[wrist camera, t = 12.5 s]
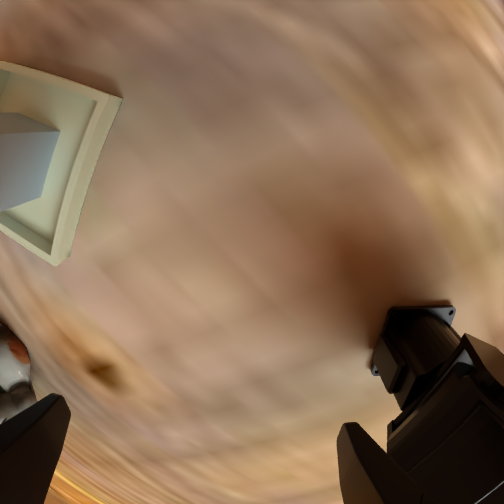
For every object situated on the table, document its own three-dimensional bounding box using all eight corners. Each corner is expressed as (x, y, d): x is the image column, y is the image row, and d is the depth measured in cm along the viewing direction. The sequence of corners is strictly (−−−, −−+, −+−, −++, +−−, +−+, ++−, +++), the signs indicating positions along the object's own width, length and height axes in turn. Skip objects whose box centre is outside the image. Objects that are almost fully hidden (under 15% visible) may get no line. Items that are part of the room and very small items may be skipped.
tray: (123, 98, 17) (109, 95, 15) (69, 256, 20) (55, 266, 18) (13, 63, 15) (-2, 60, 13) (-23, 196, 18) (-38, 201, 17)
